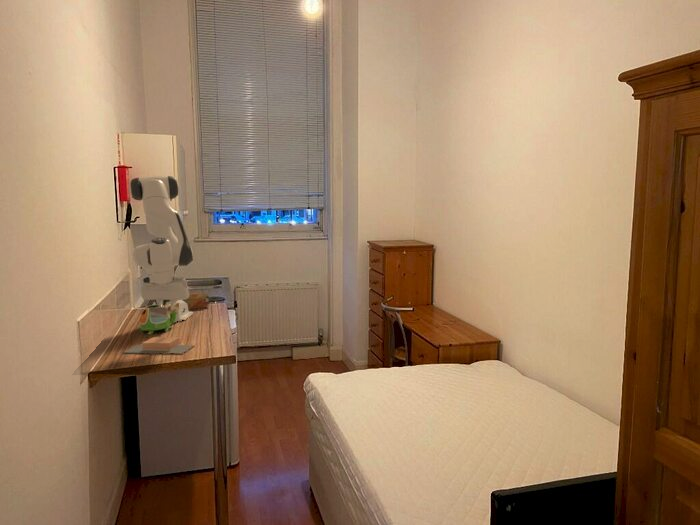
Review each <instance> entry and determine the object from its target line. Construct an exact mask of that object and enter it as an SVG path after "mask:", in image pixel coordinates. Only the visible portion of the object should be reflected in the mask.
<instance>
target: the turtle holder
mask: <svg viewBox="0 0 700 525" xmlns="http://www.w3.org/2000/svg"><path fill="white" fill-rule="evenodd" d="M151 307H160V306H159V305H158V304H156V305H152V304H149V305H147V306H145V307H144V309H143V310H142V311H141V313H140V317H139V321H138V322H139V325H140V326H139V328H140V330H142V332H147V331H148V332H147V334H151V335H153V334H154V332H155V331H159V330H160V331H161V330H163V332H164V331H167V332H169V331H170V326H171V325H173V324H174V323H175V322H174V321H175V319H176V314H177V313H178V311H175V312H173V313H170V316H169V314H168V315H167V317H166V318H162V317H151V316H150V308H151ZM168 330H169V331H168Z"/></svg>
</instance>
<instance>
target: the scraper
mask: <svg viewBox="0 0 700 525" xmlns="http://www.w3.org/2000/svg"><path fill="white" fill-rule="evenodd" d="M170 305H171V304H169V305H167V306H164V307H151V308H150V316H151V317H162V318H166V317H167V315H168V314H170V313H173V312H175V311H177V310H179V309H180V308H179V303H175V304H174V310H169V308H168V306H170Z"/></svg>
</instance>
